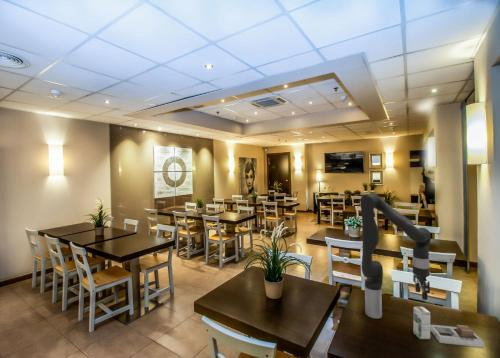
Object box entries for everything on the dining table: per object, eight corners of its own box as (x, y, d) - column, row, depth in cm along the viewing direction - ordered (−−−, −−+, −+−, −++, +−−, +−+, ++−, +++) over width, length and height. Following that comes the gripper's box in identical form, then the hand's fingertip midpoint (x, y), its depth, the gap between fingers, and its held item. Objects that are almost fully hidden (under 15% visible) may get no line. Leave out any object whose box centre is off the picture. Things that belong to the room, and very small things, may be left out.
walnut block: (456, 335, 135) (456, 324, 135) (467, 337, 134) (467, 325, 134) (462, 342, 130) (462, 330, 130) (473, 343, 129) (473, 331, 129)
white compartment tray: (429, 329, 140) (429, 324, 140) (469, 333, 136) (469, 328, 136) (439, 342, 130) (439, 337, 130) (483, 347, 125) (483, 341, 125)
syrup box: (412, 332, 138) (412, 306, 138) (423, 332, 138) (423, 306, 138) (419, 339, 133) (419, 312, 132) (431, 339, 133) (430, 312, 132)
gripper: (408, 260, 142) (408, 289, 143) (418, 270, 129) (419, 301, 129) (422, 261, 141) (423, 290, 141) (435, 271, 127) (435, 302, 127)
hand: (421, 295), depth 135 cm, fingers open, 8 cm apart
